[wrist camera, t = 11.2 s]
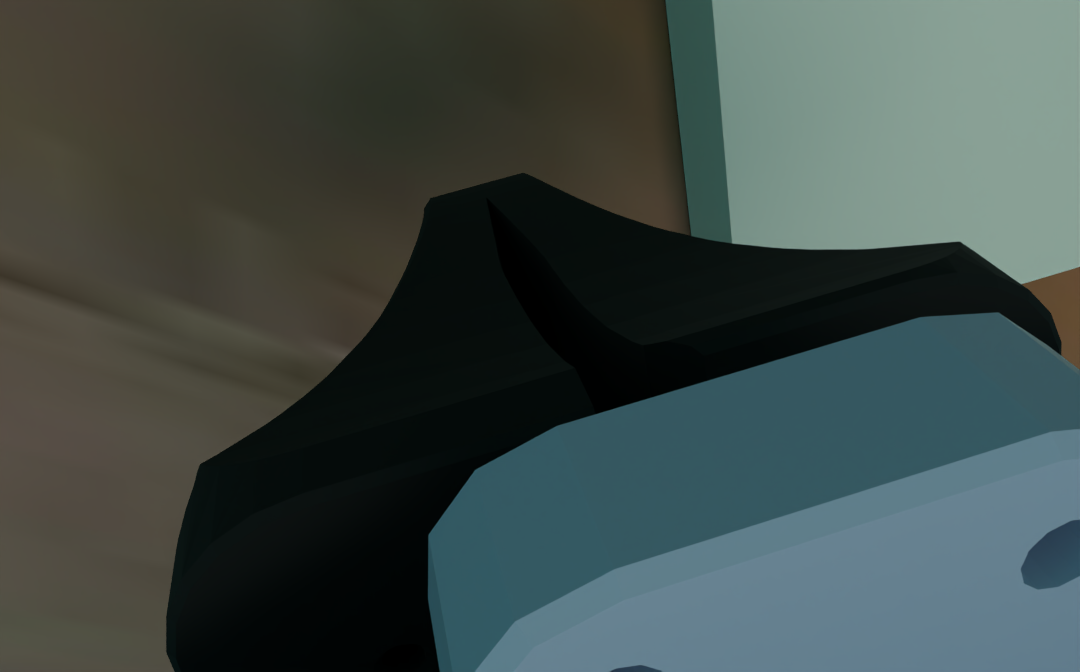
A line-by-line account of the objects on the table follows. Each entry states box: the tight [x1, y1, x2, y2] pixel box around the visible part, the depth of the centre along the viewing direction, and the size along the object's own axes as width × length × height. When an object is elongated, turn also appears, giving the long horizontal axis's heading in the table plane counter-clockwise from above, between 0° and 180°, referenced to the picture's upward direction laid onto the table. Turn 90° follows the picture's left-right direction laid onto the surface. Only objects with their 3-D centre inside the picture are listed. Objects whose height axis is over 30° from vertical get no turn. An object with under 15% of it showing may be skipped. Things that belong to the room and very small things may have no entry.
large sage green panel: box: [665, 0, 1080, 284], centre depth 22 cm, size 14×16×3 cm
